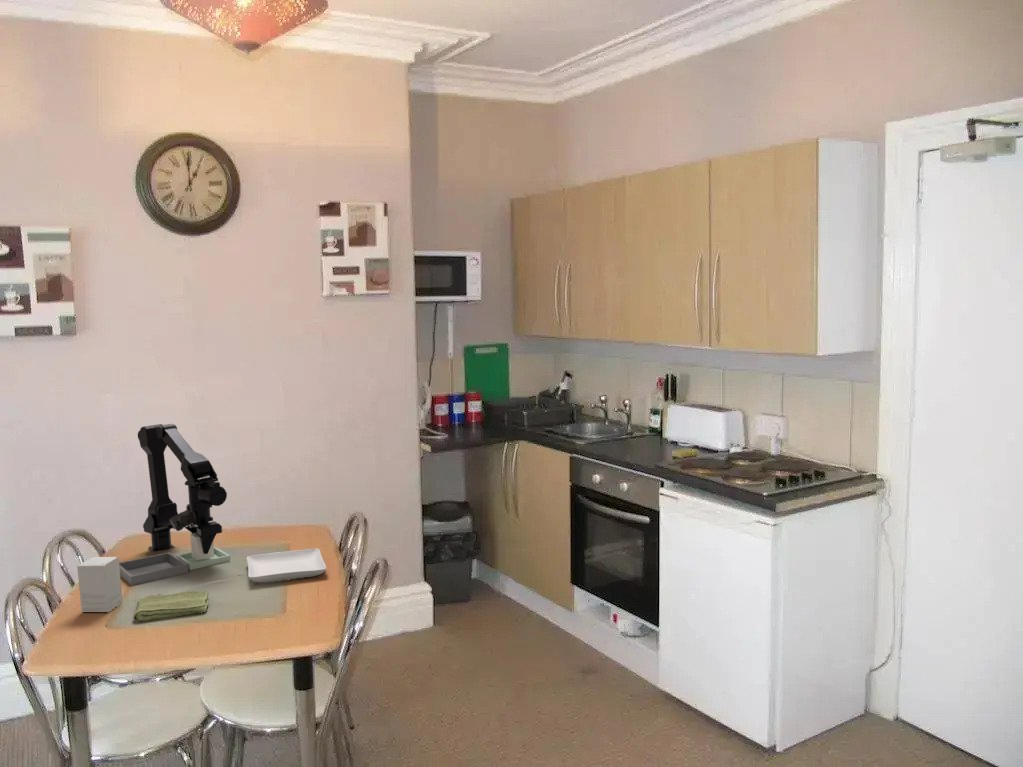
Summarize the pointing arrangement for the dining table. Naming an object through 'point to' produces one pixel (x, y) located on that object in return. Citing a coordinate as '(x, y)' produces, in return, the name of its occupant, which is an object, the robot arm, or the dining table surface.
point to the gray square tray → (152, 568)
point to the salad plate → (285, 565)
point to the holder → (194, 564)
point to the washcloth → (170, 605)
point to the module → (199, 548)
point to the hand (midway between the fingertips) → (202, 551)
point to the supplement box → (100, 584)
